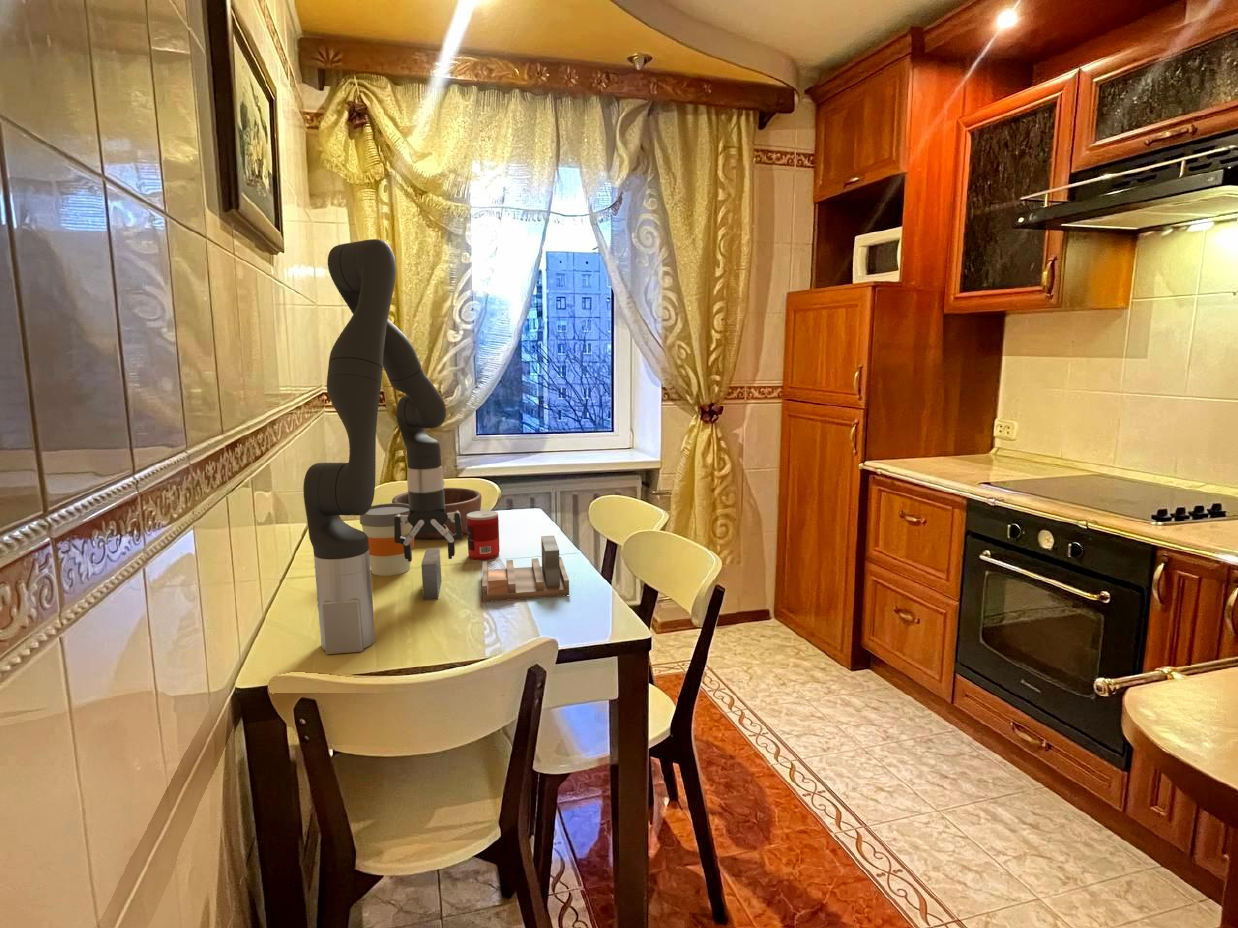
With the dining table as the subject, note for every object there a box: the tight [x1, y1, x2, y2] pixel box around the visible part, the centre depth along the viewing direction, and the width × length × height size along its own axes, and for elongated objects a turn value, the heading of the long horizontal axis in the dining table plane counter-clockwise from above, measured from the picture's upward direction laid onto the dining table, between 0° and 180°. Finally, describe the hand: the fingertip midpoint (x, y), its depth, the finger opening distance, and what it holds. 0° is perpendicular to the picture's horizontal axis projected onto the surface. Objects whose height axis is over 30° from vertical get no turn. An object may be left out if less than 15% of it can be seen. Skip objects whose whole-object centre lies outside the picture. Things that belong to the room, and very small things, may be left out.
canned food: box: [466, 509, 501, 561], centre depth 182 cm, size 8×8×11 cm
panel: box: [420, 547, 443, 601], centre depth 158 cm, size 12×3×8 cm, turn 10°
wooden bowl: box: [391, 487, 482, 540], centre depth 207 cm, size 25×25×10 cm
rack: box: [481, 535, 570, 603], centre depth 160 cm, size 17×18×10 cm
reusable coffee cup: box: [359, 502, 415, 577], centre depth 172 cm, size 12×13×15 cm
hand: (430, 559), depth 158 cm, fingers open, 8 cm apart
